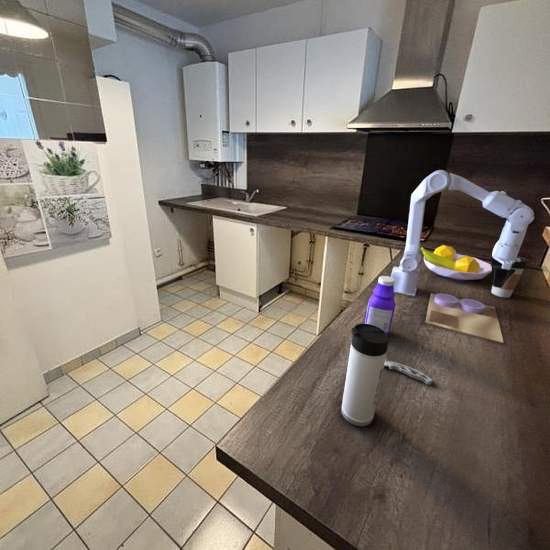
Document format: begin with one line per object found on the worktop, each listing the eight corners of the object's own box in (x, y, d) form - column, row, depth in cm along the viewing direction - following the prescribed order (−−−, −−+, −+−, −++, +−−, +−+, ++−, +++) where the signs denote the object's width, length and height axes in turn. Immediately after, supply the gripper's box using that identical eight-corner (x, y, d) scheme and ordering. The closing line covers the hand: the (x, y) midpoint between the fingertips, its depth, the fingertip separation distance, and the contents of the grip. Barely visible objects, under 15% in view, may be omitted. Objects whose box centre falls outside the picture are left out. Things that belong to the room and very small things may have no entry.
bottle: (389, 329, 87) (400, 276, 80) (389, 340, 82) (401, 284, 75) (364, 324, 89) (372, 272, 82) (363, 335, 84) (372, 280, 77)
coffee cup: (518, 301, 106) (534, 262, 100) (493, 298, 107) (506, 260, 102) (506, 291, 114) (520, 255, 108) (483, 289, 115) (495, 253, 109)
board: (424, 323, 91) (425, 322, 90) (430, 294, 110) (430, 293, 110) (503, 344, 81) (503, 342, 81) (494, 308, 101) (494, 307, 100)
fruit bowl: (483, 269, 135) (491, 246, 130) (492, 292, 112) (501, 265, 108) (417, 259, 146) (422, 237, 142) (413, 277, 124) (419, 252, 120)
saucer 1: (433, 304, 102) (434, 299, 101) (434, 296, 107) (435, 291, 107) (457, 309, 98) (458, 304, 98) (457, 300, 104) (458, 296, 103)
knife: (355, 359, 74) (359, 353, 77) (431, 387, 66) (432, 379, 68) (356, 354, 74) (360, 348, 76) (432, 381, 65) (434, 374, 68)
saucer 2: (459, 309, 98) (460, 304, 97) (458, 301, 104) (460, 296, 103) (484, 315, 95) (486, 310, 94) (482, 306, 101) (484, 301, 100)
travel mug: (335, 402, 61) (347, 320, 54) (366, 400, 62) (381, 320, 54) (344, 428, 56) (358, 341, 48) (378, 426, 56) (397, 339, 48)
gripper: (530, 251, 84) (513, 294, 89) (521, 240, 95) (507, 278, 101) (500, 247, 87) (486, 288, 92) (495, 236, 99) (483, 273, 104)
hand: (495, 282), depth 97 cm, fingers open, 7 cm apart
